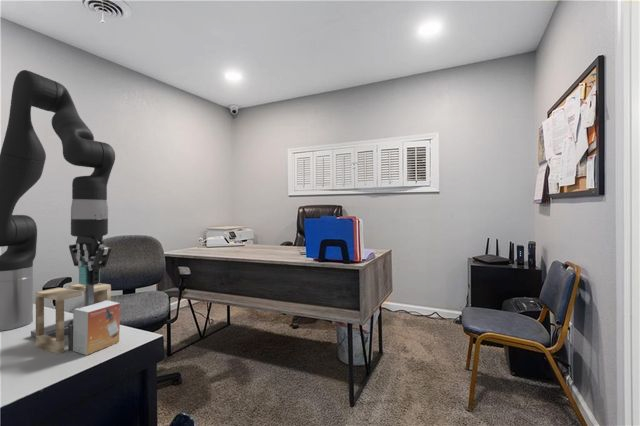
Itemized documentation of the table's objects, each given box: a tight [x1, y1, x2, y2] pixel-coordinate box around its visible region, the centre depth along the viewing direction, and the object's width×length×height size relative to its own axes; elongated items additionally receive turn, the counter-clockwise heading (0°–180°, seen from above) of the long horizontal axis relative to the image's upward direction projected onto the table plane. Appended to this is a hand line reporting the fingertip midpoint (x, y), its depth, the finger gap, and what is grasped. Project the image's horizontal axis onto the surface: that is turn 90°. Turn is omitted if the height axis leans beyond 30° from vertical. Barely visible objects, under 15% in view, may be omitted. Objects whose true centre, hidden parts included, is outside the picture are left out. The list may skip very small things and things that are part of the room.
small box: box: [72, 300, 121, 356], centre depth 74 cm, size 8×6×10 cm
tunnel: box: [35, 282, 112, 355], centre depth 77 cm, size 10×12×14 cm
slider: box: [67, 265, 101, 351], centre depth 75 cm, size 2×9×20 cm, turn 159°
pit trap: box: [30, 318, 73, 339], centre depth 82 cm, size 7×10×2 cm
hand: (89, 283), depth 75 cm, fingers closed on slider, 2 cm apart
